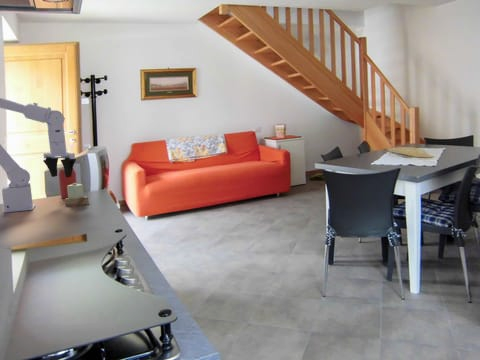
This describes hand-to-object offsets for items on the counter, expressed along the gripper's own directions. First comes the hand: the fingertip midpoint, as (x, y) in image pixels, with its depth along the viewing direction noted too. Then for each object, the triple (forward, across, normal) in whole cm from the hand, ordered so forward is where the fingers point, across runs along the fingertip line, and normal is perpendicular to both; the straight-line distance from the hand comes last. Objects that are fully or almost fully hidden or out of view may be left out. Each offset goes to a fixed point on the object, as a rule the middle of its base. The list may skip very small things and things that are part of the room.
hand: (61, 176), depth 165 cm
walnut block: (+11, -7, +1) cm, 13 cm away
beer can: (+11, +7, -9) cm, 16 cm away
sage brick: (+8, -7, +1) cm, 11 cm away
